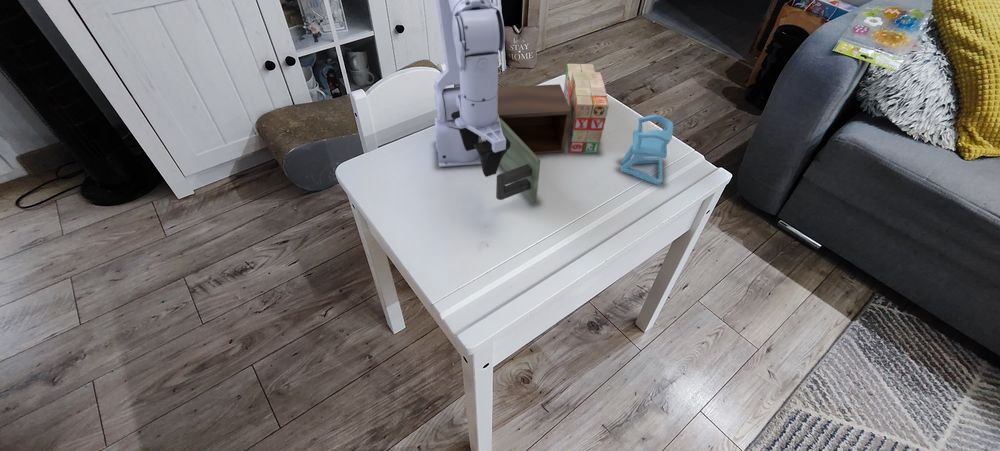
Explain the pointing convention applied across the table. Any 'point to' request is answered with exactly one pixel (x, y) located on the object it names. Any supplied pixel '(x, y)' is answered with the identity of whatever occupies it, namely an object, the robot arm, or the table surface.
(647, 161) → the chair
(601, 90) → the stack of blocks
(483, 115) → the robot arm
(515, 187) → the cupboard door
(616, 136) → the table surface
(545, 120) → the cupboard
